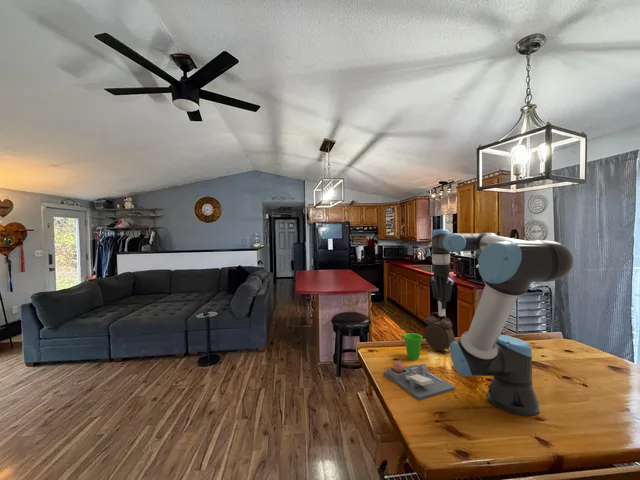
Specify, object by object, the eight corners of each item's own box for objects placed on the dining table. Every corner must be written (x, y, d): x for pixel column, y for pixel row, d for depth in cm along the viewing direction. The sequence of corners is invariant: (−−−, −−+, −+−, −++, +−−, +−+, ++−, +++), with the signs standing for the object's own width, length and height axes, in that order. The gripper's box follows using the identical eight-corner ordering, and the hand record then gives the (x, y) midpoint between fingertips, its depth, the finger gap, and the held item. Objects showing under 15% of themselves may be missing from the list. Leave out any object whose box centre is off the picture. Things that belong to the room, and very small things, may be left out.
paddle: (432, 382, 110) (432, 379, 110) (422, 385, 108) (422, 381, 108) (415, 375, 119) (414, 372, 119) (405, 378, 117) (405, 374, 117)
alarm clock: (456, 352, 147) (455, 314, 147) (448, 356, 142) (448, 316, 142) (430, 344, 158) (430, 309, 158) (423, 348, 154) (422, 311, 154)
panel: (455, 389, 112) (455, 378, 112) (419, 400, 105) (418, 388, 105) (416, 366, 132) (416, 357, 132) (384, 374, 125) (383, 364, 125)
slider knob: (428, 374, 122) (428, 365, 122) (423, 376, 120) (422, 367, 120) (423, 371, 124) (423, 362, 124) (418, 373, 123) (417, 364, 123)
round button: (406, 372, 121) (405, 364, 121) (397, 374, 119) (397, 366, 119) (399, 368, 125) (399, 360, 125) (391, 369, 123) (391, 362, 123)
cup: (419, 363, 135) (419, 340, 135) (401, 359, 140) (400, 337, 140) (425, 357, 142) (425, 335, 142) (407, 353, 148) (407, 332, 148)
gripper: (459, 264, 124) (460, 318, 124) (436, 262, 136) (437, 311, 136) (446, 265, 121) (447, 320, 121) (424, 263, 133) (425, 313, 133)
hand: (442, 315), depth 129 cm, fingers closed
